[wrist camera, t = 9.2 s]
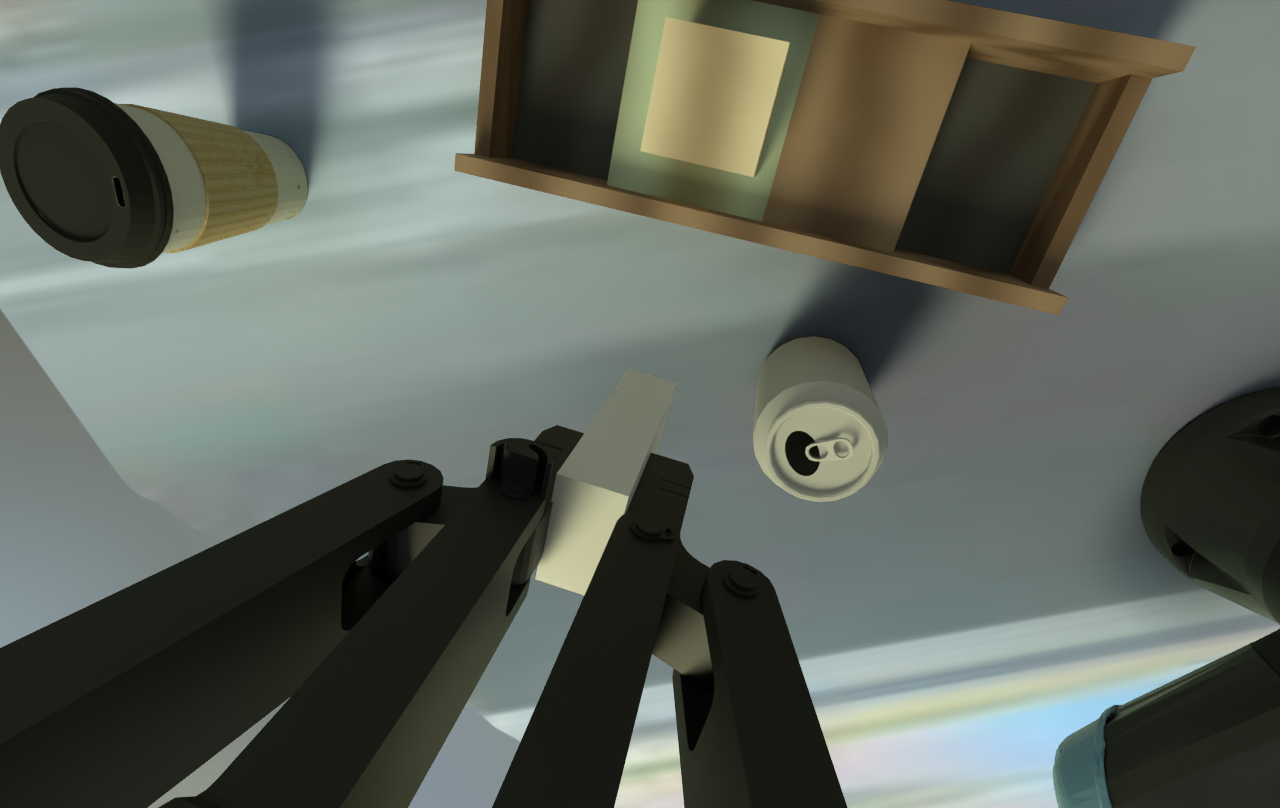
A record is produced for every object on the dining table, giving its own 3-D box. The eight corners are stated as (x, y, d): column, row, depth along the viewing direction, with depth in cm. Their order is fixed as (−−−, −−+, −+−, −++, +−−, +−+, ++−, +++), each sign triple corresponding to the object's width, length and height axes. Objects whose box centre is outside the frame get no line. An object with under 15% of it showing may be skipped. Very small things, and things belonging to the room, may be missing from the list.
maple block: (787, 62, 33) (789, 42, 28) (756, 175, 35) (753, 177, 30) (683, 41, 34) (665, 16, 28) (660, 153, 36) (640, 150, 31)
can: (745, 349, 44) (735, 410, 33) (850, 320, 41) (877, 375, 30) (772, 439, 46) (772, 524, 35) (873, 416, 43) (907, 499, 33)
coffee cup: (206, 101, 45) (-39, 73, 31) (322, 115, 44) (117, 93, 30) (227, 234, 49) (17, 260, 35) (334, 251, 48) (158, 285, 34)
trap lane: (1120, 67, 33) (1195, 46, 27) (1015, 292, 39) (1059, 315, 33) (520, -49, 37) (472, -89, 31) (498, 170, 42) (454, 170, 37)
